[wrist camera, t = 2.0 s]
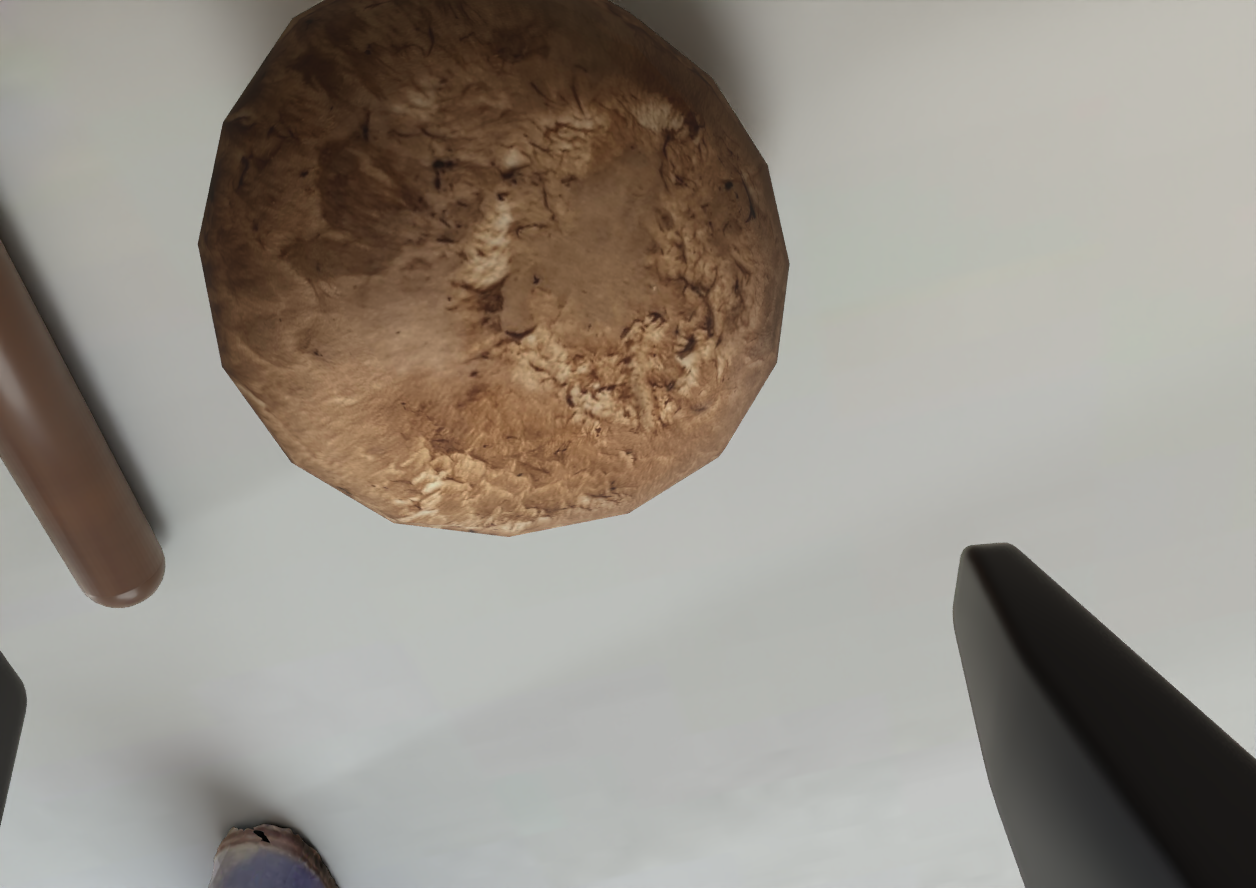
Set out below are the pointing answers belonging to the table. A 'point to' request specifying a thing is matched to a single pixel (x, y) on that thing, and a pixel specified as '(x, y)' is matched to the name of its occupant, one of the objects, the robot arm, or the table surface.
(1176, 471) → the table surface
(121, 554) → the wooden spoon
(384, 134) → the brown round ball
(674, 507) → the table surface
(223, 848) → the flask
